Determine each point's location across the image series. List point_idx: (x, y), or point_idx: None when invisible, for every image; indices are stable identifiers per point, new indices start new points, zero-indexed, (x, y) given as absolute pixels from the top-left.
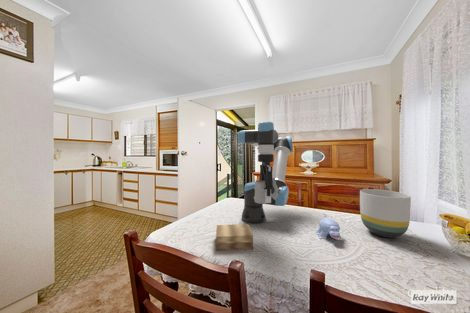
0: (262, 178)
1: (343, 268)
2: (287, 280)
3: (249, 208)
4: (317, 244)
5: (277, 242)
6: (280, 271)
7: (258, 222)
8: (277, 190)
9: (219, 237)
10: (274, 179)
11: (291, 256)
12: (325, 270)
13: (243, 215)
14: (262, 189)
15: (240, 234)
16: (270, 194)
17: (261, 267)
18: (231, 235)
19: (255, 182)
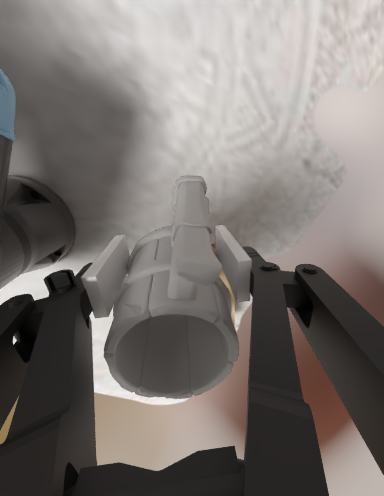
0: (89, 375)
1: (342, 21)
2: (334, 192)
3: (32, 260)
4: (219, 28)
5: (200, 174)
6: (309, 199)
7: (68, 211)
8: (205, 187)
9: (233, 322)
10: (214, 255)
11: (268, 156)
12: (334, 87)
13: (46, 266)
14: (230, 313)
15: (228, 284)
16: (256, 251)
17: (290, 233)
18: (231, 302)
19: (185, 394)
